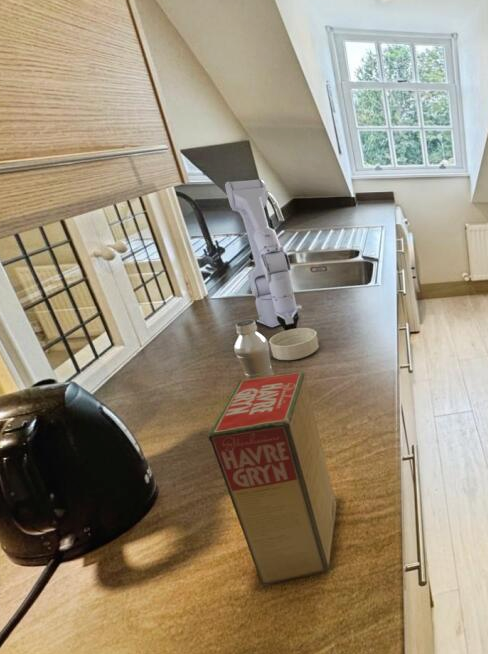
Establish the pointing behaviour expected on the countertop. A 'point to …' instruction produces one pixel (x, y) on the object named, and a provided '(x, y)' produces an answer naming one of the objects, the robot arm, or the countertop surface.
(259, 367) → the plastic bottle
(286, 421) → the food packaging
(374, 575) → the countertop surface
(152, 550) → the countertop surface
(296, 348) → the bowl
